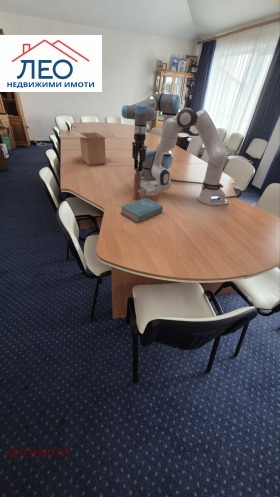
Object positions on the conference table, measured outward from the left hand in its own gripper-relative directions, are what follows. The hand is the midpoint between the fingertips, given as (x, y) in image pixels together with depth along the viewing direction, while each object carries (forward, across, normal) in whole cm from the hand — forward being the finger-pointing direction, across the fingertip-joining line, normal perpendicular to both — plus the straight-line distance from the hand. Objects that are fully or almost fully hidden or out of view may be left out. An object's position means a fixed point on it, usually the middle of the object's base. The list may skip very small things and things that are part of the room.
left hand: (137, 170), depth 154 cm
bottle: (+21, 0, 0) cm, 21 cm away
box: (+21, -100, +15) cm, 103 cm away
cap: (-1, 0, 0) cm, 1 cm away
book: (+21, +22, -11) cm, 32 cm away
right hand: (+14, 0, -1) cm, 14 cm away
